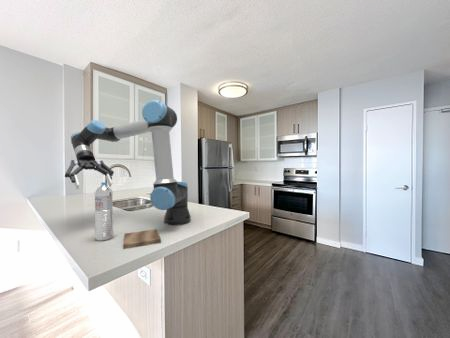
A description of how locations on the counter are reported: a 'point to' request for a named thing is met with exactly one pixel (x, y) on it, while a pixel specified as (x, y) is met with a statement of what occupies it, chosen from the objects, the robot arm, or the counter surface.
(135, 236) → the walnut board
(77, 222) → the counter surface
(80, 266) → the counter surface
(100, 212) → the water bottle
